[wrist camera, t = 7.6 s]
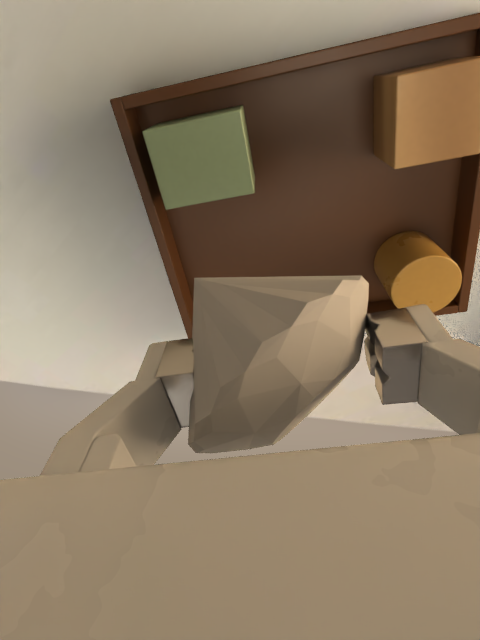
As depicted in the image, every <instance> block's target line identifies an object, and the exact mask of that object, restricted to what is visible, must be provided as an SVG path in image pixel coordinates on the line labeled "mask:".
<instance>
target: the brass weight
mask: <svg viewBox="0 0 480 640" xmlns="http://www.w3.org/2000/svg"><path fill="white" fill-rule="evenodd" d="M374 269H375V272H376V275H377V276H378V278H379V280H380V281H381V283H382V285H383V286H384V288H385V290H386V291H387V293H388V295H389V296H390V298H391V300H392V301H393V303H394V305H395V306H396V307H397V308H398V309H399V308H404V307H409V306H415V305H420V304H425V305H427V306H428V307H429V308H430V310H431V311H432V312H436V311H438V310H440V309H442V308H443V307H445V306H446V305H448V304H449V303H450V302H451V301H452V300H453V299H454V298H455V296H456V295H457V293H458V291H459V289H460V287H461V282H462V274H461V270H460V268H459V266H458V265H457V263H455V262H454V261H453V260H452V259H451V258H450V257H449V256H448V255H447V254H446V253H445V252H444V251H443V250H442V249H441V248H440V247H439V246H438V245H437V244H435V243H434V242H433V241H432V240H431V239H430V238H429V237H428V236H427V235H425V234H423V233H420V232H416V231H407V232H402V233H399V234H396V235H394V236H392V237H390V238H389V239H388V240H386V241H385V242H384V243H383V244H382V245H381V247H380V248H379V250H378V251H377V253H376V256H375V260H374Z"/></svg>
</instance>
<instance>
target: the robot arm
mask: <svg viewBox="0 0 480 640" xmlns="http://www.w3.org/2000/svg"><path fill="white" fill-rule="evenodd" d="M365 331H366V333H367V335H368V337H367V338H366V339H365V341H364V343H365V355H366V361H367V365H368V368H369V371H370V374H371V375H373V376H374V377H375V387H376V389H377V392H378V394H379V397H380V399H381V402H382V404H383V405H384V404H396V403H407V402H418V404H420V405H421V406H422V407H424V408H425V409H426V410H428V411H429V412H430V413H431V414H433V415H434V416H435V417H437V418H438V419H439V420H441V421H442V422H443V423H445V424H446V425H447V426H449V427H450V428H451V429H453V430H454V431H455V432H457V433H458V434H459V435H455V436H444V437H435V438H423V439H413V440H402V441H392V442H383V443H372V444H361V445H351V446H341V447H330V448H320V449H310V450H300V451H290V452H280V453H270V454H259V455H250V456H239V457H229V458H219V459H209V460H199V461H188V462H179V463H168V464H158V465H154V464H155V463H156V461H157V460H158V459H159V458H160V456H161V455H162V454H163V452H164V451H165V450H166V449H167V447H168V446H169V445H170V443H171V442H172V441H173V439H174V438H175V437H176V436H177V434H178V433H179V432H180V430H181V428H183V427H189V411H190V399H191V396H192V393H193V390H194V353H193V338H189V339H181V340H173V341H165V342H158V343H152V344H151V345H149V347H148V350H147V352H146V355H145V357H144V360H143V362H142V365H141V367H140V370H139V372H138V375H137V377H136V380H135V381H131V382H129V383H128V384H127V385H125V386H124V387H123V388H122V389H120V390H119V391H118V392H117V393H115V394H114V395H113V396H112V397H111V398H109V399H108V400H107V401H106V402H104V403H103V404H102V405H101V406H99V407H98V408H97V409H96V410H94V411H93V412H92V413H91V414H89V415H88V416H87V417H86V418H85V419H83V420H82V421H81V422H80V423H78V424H77V425H76V426H75V427H74V428H72V429H71V430H70V431H68V432H67V433H66V434H65V435H64V436H62V437H61V438H60V439H59V441H58V443H57V445H56V447H55V448H54V450H53V452H52V454H51V456H50V457H49V459H48V461H47V463H46V465H45V467H44V468H43V471H42V472H41V474H40V476H34V477H24V478H14V479H3V480H0V640H480V347H478V346H476V345H474V344H471V343H469V342H466V341H464V340H461V339H452V337H451V336H450V335H449V333H448V332H447V331H446V329H445V328H444V327H443V325H442V324H441V323H440V322H439V320H438V319H437V318H436V316H435V315H434V314H433V312H432V311H431V310H430V308H429V307H428V306H427V305H425V304H420V305H415V306H409V307H404V308H399V309H393V310H387V311H380V312H374V313H368V314H366V323H365Z"/></svg>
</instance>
